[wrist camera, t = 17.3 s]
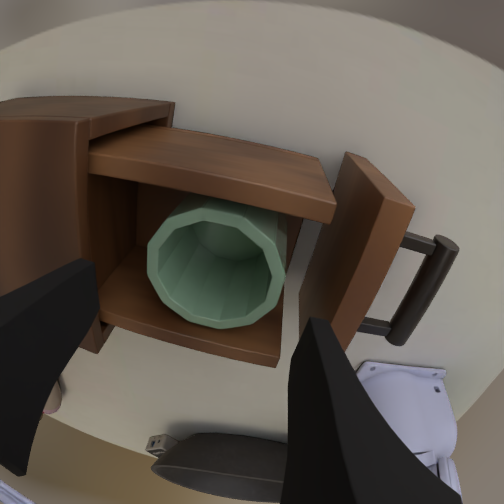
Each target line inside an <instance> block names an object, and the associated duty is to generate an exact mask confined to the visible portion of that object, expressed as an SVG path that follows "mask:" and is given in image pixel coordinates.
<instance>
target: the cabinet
mask: <svg viewBox="0 0 504 504" xmlns="http://www.w3.org/2000/svg"><path fill="white" fill-rule="evenodd" d="M174 107H175V102H168V101H159V100H148V99H136V98H122V97H101V96H44V97H24V98H15V99H10V100H6V101H1V102H0V297H1V296H3V295H5V294H7V293H9V292H11V291H13V290H15V289H18V288H20V287H22V286H24V285H26V284H28V283H30V282H32V281H34V280H36V279H38V278H40V277H42V276H44V275H46V274H48V273H50V272H52V271H54V270H56V269H58V268H60V267H62V266H64V265H66V264H68V263H70V262H72V261H75V260H77V259H80V258H82V259H85V260H88V261H92V260H91V249H90V235H89V217H88V146H89V140H91V139H94V138H97V137H100V136H103V135H106V134H109V133H112V132H115V131H118V130H121V129H125V128H128V127H131V126H135V125H138V124H147V125H155V126H163V127H170V128H171V127H172V120H173V114H174ZM114 327H115V326H114V325H111V324H109V323H106V322H103V321H100V320H99V314H98V313H97V315H96V318H95V320H94V322H93V324H92V326H91V327H90V329H89V331H88V333H87V334H86V336H85V338H84V339H83V341H82V342H81V344H80V345H79V347H80V348H83V349H85V350H88V351H90V352H93V353H95V354H98V353H99V351H100V350H101V348H102V346H103V345H104V343H105V342H106V340H107V339H108V337H109V335H110V334H111V332H112V330H113V329H114Z"/></svg>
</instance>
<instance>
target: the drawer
mask: <svg viewBox="0 0 504 504" xmlns="http://www.w3.org/2000/svg"><path fill="white" fill-rule="evenodd" d="M190 192H192V193H196V194H201V195H206V196H211V197H215V198H220V199H224V200H229V201H233V202H238V203H242V204H247V205H251V206H255V207H259V208H264V209H268V210H272V211H276V212H280V213H285V215H286V219H287V252H286V274H287V270H288V267H289V264H290V261H291V258H292V255H293V251H294V248H295V245H296V242H297V238H298V235H299V232H300V229H301V225H302V222H303V219H304V218H305V219H309V220H313V221H317V222H321V223H323V225H322V228H321V231H320V234H319V237H318V240H317V243H316V246H315V249H314V252H313V255H312V258H311V261H310V263H309V266H308V269H307V272H306V275H305V278H304V280H303V283H302V286H301V289H300V291H299V340H300V338H301V335H302V333H303V331H304V329H305V326H306V324H307V322H308V319H309V317H315V318H320V319H325V320H328V321H329V323H330V325H331V327H332V329H333V331H334V333H335V335H336V337H337V339H338V341H339V343H340V345H341V347H342V349H343V351H344V352H345V351H346V349H347V347H348V345H349V344H350V342H351V340H352V339H353V337H354V335H355V333H356V331H357V332H363V333H368V334H374V335H380V336H385V338H386V340H387V341H388V342H389V343H391V344H393V345H395V346H402V345H404V344H405V343H406V341H407V340H408V338H409V337H410V335H411V334H412V332H413V331H414V329H415V328H416V326H417V325H418V323H419V321H420V320H421V318H422V317H423V315H424V313H425V312H426V310H427V308H428V307H429V305H430V304H431V302H432V300H433V298H434V297H435V295H436V293H437V292H438V290H439V288H440V286H441V284H442V283H443V281H444V279H445V277H446V275H447V273H448V272H449V270H450V268H451V266H452V264H453V262H454V260H455V258H456V256H457V254H458V252H459V247H458V246H457V245H456V244H455V243H454V242H453V241H451V240H450V239H448V238H446V237H444V236H441V235H435V236H434V239H433V240H432V239H429V238H426V237H423V236H419V235H416V234H413V233H410V232H407V231H406V230H407V228H408V225H409V223H410V220H411V218H412V215H413V213H414V210H415V206H414V205H413V204H412V203H411V202H410V201H409V200H408V199H407V198H406V197H405V196H404V195H403V194H402V193H401V192H400V191H399V190H398V189H397V188H396V187H395V186H394V185H393V184H392V183H391V182H390V181H389V180H388V179H387V178H386V177H385V176H384V175H383V174H382V173H381V172H380V171H379V170H378V169H377V168H376V167H375V166H374V165H373V164H372V163H370V162H369V161H368V160H367V159H366V158H364V157H361V156H358V155H355V154H352V153H349V152H345V155H344V158H343V161H342V165H341V168H340V171H339V175H338V178H337V181H336V185H335V188H334V191H333V192H332V190H331V187H330V185H329V182H328V180H327V178H326V175H325V173H324V171H323V168H322V166H321V164H320V161H319V159H318V158H315V157H312V156H308V155H304V154H300V153H296V152H292V151H288V150H284V149H280V148H276V147H272V146H267V145H263V144H258V143H254V142H249V141H244V140H239V139H234V138H229V137H224V136H219V135H213V134H208V133H202V132H196V131H190V130H183V129H177V128H170V127H163V126H155V125H147V124H138V125H135V126H131V127H128V128H125V129H121V130H118V131H115V132H112V133H109V134H106V135H103V136H100V137H97V138H94V139H91V140H89V146H88V217H89V235H90V249H91V260H92V262H95V271H96V280H97V289H98V296H99V304H100V309H99V311H98V314H99V320H100V321H103V322H106V323H109V324H111V325H114V326H117V327H120V328H123V329H126V330H129V331H132V332H135V333H139V334H142V335H145V336H148V337H152V338H155V339H158V340H162V341H165V342H168V343H172V344H175V345H179V346H183V347H186V348H190V349H194V350H198V351H201V352H205V353H209V354H213V355H217V356H222V357H226V358H230V359H234V360H239V361H243V362H248V363H253V364H257V365H262V366H267V367H272V368H276V366H277V364H278V361H279V359H280V351H281V335H282V317H283V299H284V284H283V287H282V290H281V294H280V297H279V300H278V303H277V305H276V306H275V307H274V308H273V309H272V310H271V311H269V312H268V313H267V314H265V315H264V316H263V317H261V318H260V319H259V320H257V321H256V322H255V323H253V324H251V325H246V326H240V327H234V328H227V329H216V328H212V327H208V326H204V325H200V324H196V323H193V322H189V321H187V320H186V319H184V318H183V317H182V316H180V315H179V314H178V313H176V312H175V311H174V310H172V309H171V308H169V307H168V306H167V305H165V304H164V303H163V301H161V299H160V297H159V296H158V294H157V292H156V290H155V288H154V287H153V285H152V283H151V281H150V279H149V278H148V276H147V245H148V242H149V241H150V239H151V238H152V237H153V235H154V234H155V233H156V231H157V230H158V229H159V227H160V226H161V225H162V224H163V222H164V221H165V220H166V218H167V217H168V216H169V215H170V214H171V213H172V212H173V211H174V209H175V208H176V207H177V206H178V205H179V204H180V203H181V202H182V201H183V199H184V198H185V197H186V196H187V195H188V194H189V193H190ZM399 247H403V248H406V249H409V250H413V251H416V252H420V253H423V254H426V256H425V258H424V260H423V262H422V264H421V266H420V268H419V270H418V272H417V274H416V276H415V278H414V279H413V281H412V283H411V285H410V287H409V289H408V291H407V293H406V294H405V296H404V298H403V300H402V302H401V303H400V305H399V307H398V309H397V310H396V312H395V314H394V316H393V317H392V319H391V321H390V322H389V321H384V320H378V319H373V318H368V317H365V315H366V313H367V311H368V310H369V308H370V306H371V304H372V302H373V300H374V298H375V296H376V294H377V292H378V290H379V288H380V286H381V284H382V282H383V280H384V278H385V276H386V274H387V272H388V270H389V268H390V266H391V264H392V261H393V259H394V257H395V255H396V253H397V250H398V248H399Z"/></svg>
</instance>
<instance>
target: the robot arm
mask: <svg viewBox="0 0 504 504" xmlns="http://www.w3.org/2000/svg"><path fill="white" fill-rule="evenodd" d="M99 309H100V304H99V296H98V289H97V280H96V271H95V262H92V261H88V260H85V259H82V258H80V259H77V260H75V261H72V262H70V263H68V264H66V265H64V266H62V267H60V268H58V269H56V270H54V271H52V272H50V273H48V274H46V275H44V276H42V277H40V278H38V279H36V280H34V281H32V282H30V283H28V284H26V285H24V286H22V287H20V288H18V289H15V290H13V291H11V292H9V293H7V294H5V295H3V296H1V297H0V464H1V465H2V466H4V467H5V468H6V469H8V470H9V471H11V472H12V473H13V474H15V475H16V476H24V475H26V472H27V466H28V460H29V456H30V451H31V446H32V443H33V440H34V436H35V433H36V429H37V426H38V423H39V421H40V418H41V415H42V413H43V410H44V407H45V405H46V403H47V400H48V398H49V396H50V393H51V391H52V389H53V387H54V385H55V383H56V381H57V379H58V378H59V376H60V374H61V373H62V371H63V370H64V368H65V367H66V365H67V363H68V362H69V360H70V359H71V357H72V356H73V354H74V353H75V351H76V350H77V348H78V347H79V345H80V344H81V342H82V341H83V339H84V338H85V336H86V334H87V333H88V331H89V329H90V327H91V326H92V324H93V322H94V320H95V318H96V315H97V313H98V311H99ZM445 375H446V370H444V369H434V368H422V367H412V366H403V365H394V364H385V363H377V362H370V361H367V362H364V363H363V364H362V365H361V367H360V368H359V370H358V371H357V373H355V371H354V369H353V368H352V366H351V364H350V362H349V360H348V358H347V356H346V354H345V353H344V351H343V349H342V347H341V345H340V343H339V341H338V339H337V337H336V335H335V333H334V331H333V329H332V327H331V325H330V323H329V321H328V320H325V319H320V318H315V317H309V319H308V322H307V324H306V326H305V329H304V331H303V333H302V335H301V338H300V340H299V342H298V344H297V347H296V349H295V351H294V353H293V355H292V358H291V364H290V372H289V381H288V450H287V461H286V468H285V475H284V482H283V488H282V494H281V500H280V504H463V502H462V495H461V489H460V484H459V479H458V475H457V471H456V467H455V464H454V461H453V459H451V458H449V457H450V456H451V454H452V452H453V451H454V448H455V445H456V440H457V425H456V421H455V418H454V414H453V411H452V408H451V405H450V401H449V398H448V395H447V392H446V389H445V386H444V383H443V381H442V379H443V378H444V377H445ZM0 501H1V502H3V503H4V504H36V503H35V502H33V501H31V500H30V499H28V498H26V497H25V496H23V495H22V494H20V493H19V492H17V491H16V490H15V489H13V488H12V487H10V486H9V485H7V484H6V483H5V482H3V481H2V480H0Z"/></svg>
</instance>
